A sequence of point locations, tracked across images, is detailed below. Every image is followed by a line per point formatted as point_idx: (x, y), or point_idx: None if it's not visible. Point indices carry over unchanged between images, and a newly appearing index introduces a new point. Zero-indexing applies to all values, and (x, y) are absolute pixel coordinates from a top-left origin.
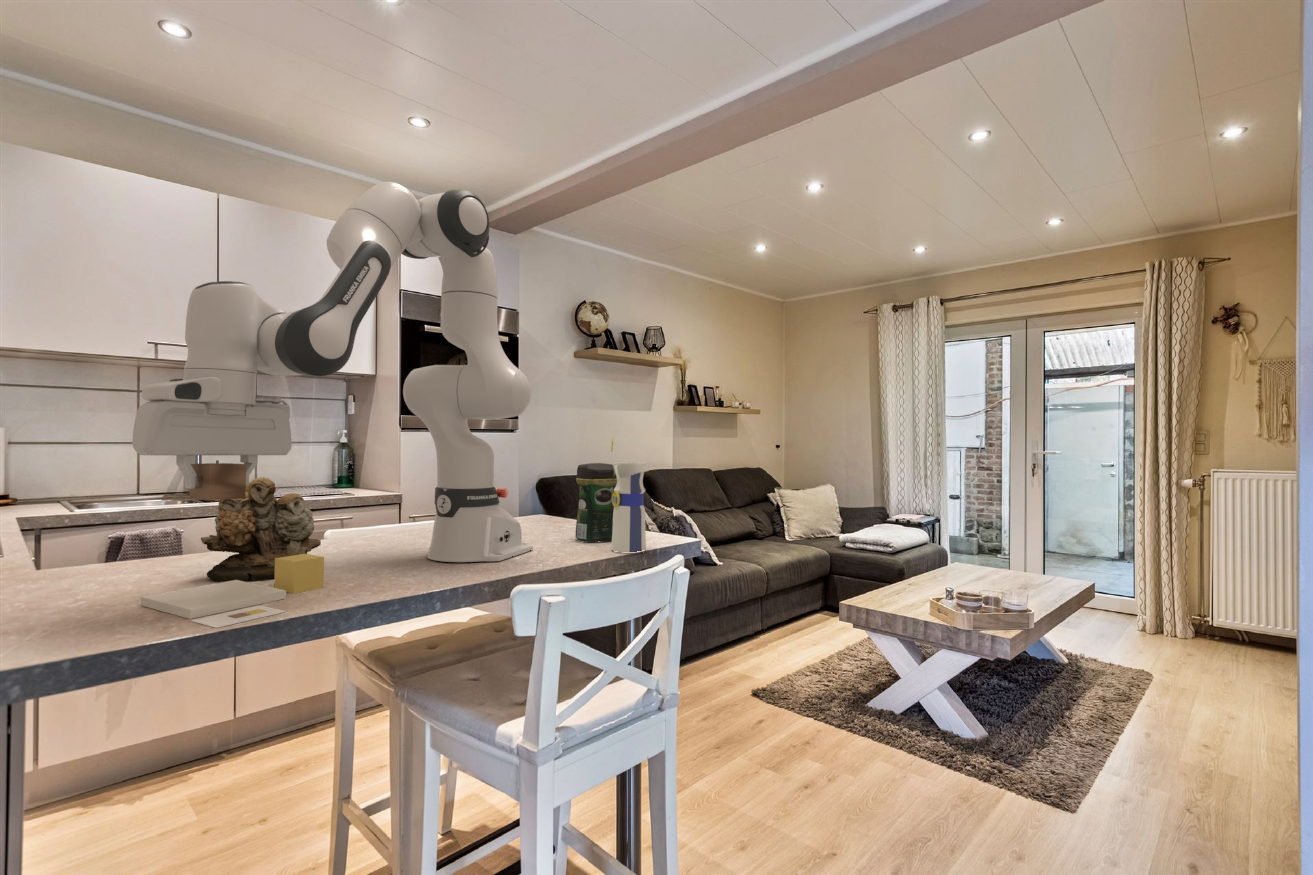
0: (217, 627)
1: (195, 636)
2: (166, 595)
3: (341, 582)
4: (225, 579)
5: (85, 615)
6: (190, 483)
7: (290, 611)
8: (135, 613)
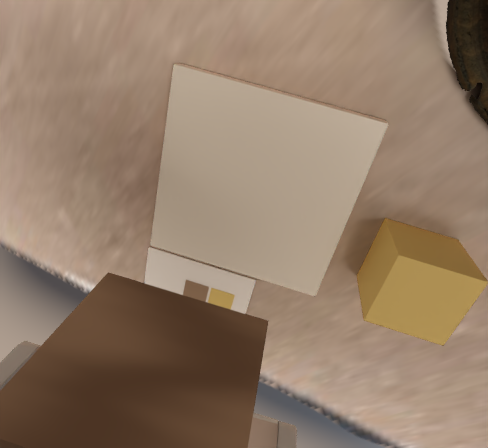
0: None
1: None
2: (203, 109)
3: (477, 304)
4: (448, 30)
5: (87, 32)
6: None
7: None
8: (139, 116)
